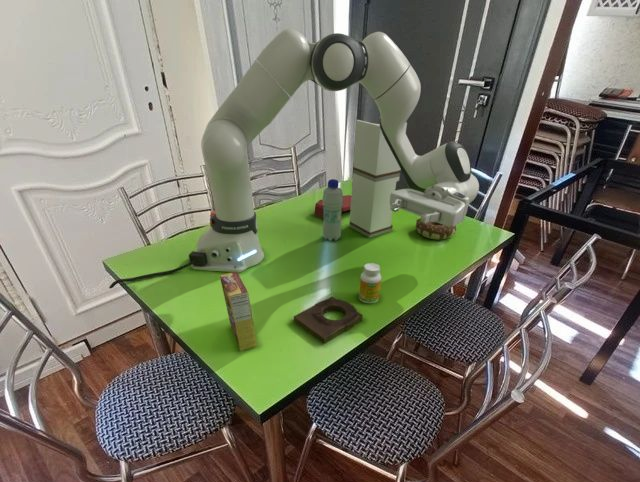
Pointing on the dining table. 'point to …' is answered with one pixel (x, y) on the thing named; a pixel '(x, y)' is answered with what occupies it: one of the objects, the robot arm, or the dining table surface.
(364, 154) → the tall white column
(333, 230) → the bottle
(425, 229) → the donut
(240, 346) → the candy box
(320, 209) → the carton
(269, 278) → the dining table surface
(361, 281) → the supplement bottle
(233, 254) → the robot arm
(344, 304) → the holder
